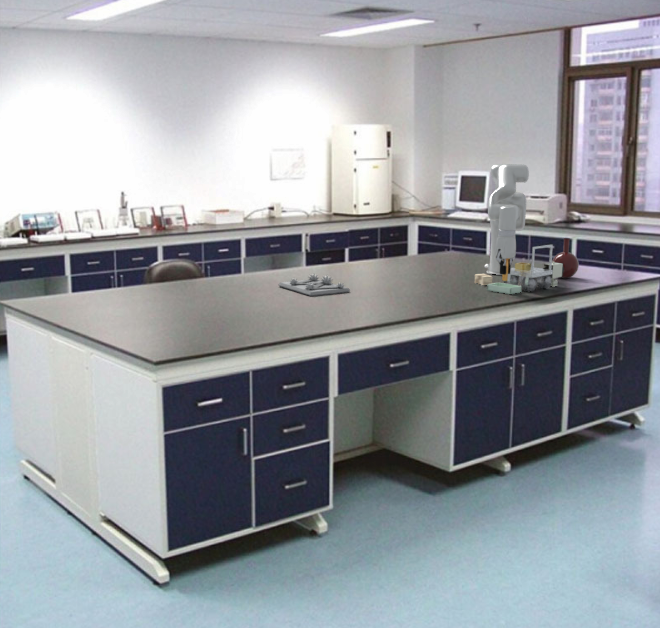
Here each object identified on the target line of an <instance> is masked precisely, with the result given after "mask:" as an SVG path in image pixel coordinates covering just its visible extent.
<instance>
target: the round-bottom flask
mask: <svg viewBox="0 0 660 628" xmlns="http://www.w3.org/2000/svg"><path fill="white" fill-rule="evenodd" d="M570 240H571V238H568V237H565V238H564V237H563V251H562V252H558V253H556V255H555V256H554V257H552V263H553V261H554V262H555V263H562V264H563V267H564V272H563V276H562V277H559V278H560V279H569V278H572V277H573V276H575V275H576V274H577V272H578V270H579V264H580V263H579V260H578V258H577V256H576V255H575V254H573V253H572V252H569V250H570V249H569V248H570Z"/></svg>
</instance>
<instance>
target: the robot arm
mask: <svg viewBox="0 0 660 628" xmlns="http://www.w3.org/2000/svg"><path fill="white" fill-rule="evenodd" d="M490 174H491V178H492V180H493V183H494V191H493V192H492V194H491V195H490V196H489V198H488V201H487V216H488V219H489V223H490V254H489V255H490V257H489V263H485V264H484V266H483V267H484V268H485V269H487V270H486V273H485V274H487V275H492V274H496V275H495V276H502V274H504V275H505V274H506V266H505V265H506V259H508V258H510V259H509V260H508V274H510V270H511V268H512V263H513V261H514V260H515V259H516V253H517V241H516V232H521V231H523V230H524V229H525V225H526V213H527V197H526V194H524V193H523V192H517V183H527V182H528V180H529V176H530V171H529V167H528V166H527V165H526V164H506V163H504V164H503V163H499V164H493V165H492V166H491V167H490ZM503 260H504V261H503Z"/></svg>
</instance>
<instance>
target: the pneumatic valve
mask: <svg viewBox="0 0 660 628" xmlns="http://www.w3.org/2000/svg"><path fill="white" fill-rule="evenodd" d="M542 269H549V263H544V264H543V267H542ZM551 270H553V273H552V274H551V275H549V276H550V277H551V280H552V283H551V286H552V287H551V288H556V287H555V286H557V287H558V282H559V281H558V278H560V277H562V276H563V272H564V267H563V264H562V263H555V262H554V261H553V263H552V265H551Z"/></svg>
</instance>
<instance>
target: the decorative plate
mask: <svg viewBox="0 0 660 628" xmlns="http://www.w3.org/2000/svg"><path fill="white" fill-rule="evenodd" d="M321 277H322V278H321V279H320V276H319V274H317V273H311V274H309V276H308V275H307V278H308V279H301V280H298V278H295V277H293V278H291V279H290V280H289V281H282V282H279V283H278V286H279V287H280V288H284V289H286V290H290V291H293V292H296V293H299V294H302V295H305V296H309V297H318V296H319V297H320V296H329V295H337V294H346V293H348V294H349V293H350V291H351V290H350V288H348V287H346V286H345V285H344V283H342V282H341V283H340V281H338V282H337V283H333V282H332V281H334V278H332V277H331V276H329V275H328V274H326V275H322V276H321Z"/></svg>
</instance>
